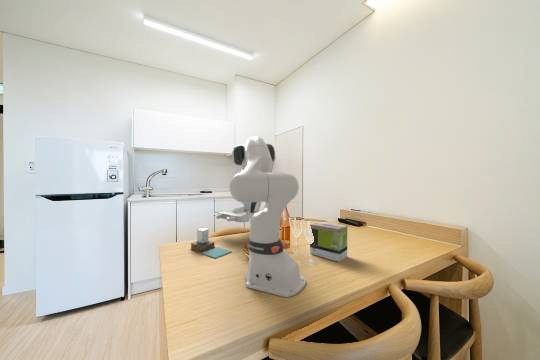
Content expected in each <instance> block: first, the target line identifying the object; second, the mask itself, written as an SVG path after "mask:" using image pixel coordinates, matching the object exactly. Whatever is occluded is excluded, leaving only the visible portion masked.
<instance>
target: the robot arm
mask: <svg viewBox="0 0 540 360" xmlns="http://www.w3.org/2000/svg"><path fill="white" fill-rule="evenodd" d="M275 157H276V151H275V148H274V146H273V145H272V144H271V143H266V142H265V141H264V139H263V138H261V137H260V136H252V137H249V138H248V139H247V140H246V143H244V144H242V143H241V144H236V145H234V146H233V148H232V150H231V158H232V161H233V164H235V165H237V166H242V167H241V170H240V171H239V172H238V173H236V174H235V175H233V177H232V178H231V180H230V182H229V192H230V196H231V197H232V198H233V199H234V200H235V201H237V202H239V203H241V204H242V205H243V206H241V207H235V208H234V209H233V211H230V210H223V211H218V212H217V215H215V219H219V220H220V219H221V220H226V221H227V222H236V223H248V222H249V237H248V238H249V239H248V250H249V254H248V256H249V257H248V263H247V268H246V272H245V275H244V278H245V280H246V284H245V286H246V287H247V288H250V289H253V290H257V291H259V292H260V291H261V292H264V293H269V294H272V295H275V296H280V297H283V298H289V297H292V296H296V294H298V293H301V291H302V290H303V289H304V288H305V286H306V284H307V279H306V276H303V275H301V273H300V268H299V265H298V262H296V261H295V259H293V258H292V257H291V256H290V255H289V254H288V253H287V252H286V250H285V249H284V247H286V244H287V243H286V242H282V240H281V238H280V231H281V230H280V229H281V220H282V215H283V213H284V210H285V208H287V205H289V203H290V202H292V200H294V199H295V198H296V197H297V195H298V194H299V193H298V192H299V190H300V188H299V187H300V185H299V181H298V179H297V178H296V177H295V175H294V174H289V173H286V172H271V171H272V169H273V167H274V161H275V159H276V158H275ZM261 203H265V205H264V207H262V208H261ZM260 208H261V210H260Z"/></svg>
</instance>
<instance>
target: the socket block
mask: <svg viewBox="0 0 540 360" xmlns="http://www.w3.org/2000/svg"><path fill="white" fill-rule="evenodd" d="M214 248H215V241H212V240H209V239H208V243H206V244H203V245H200V244H197V241H193V242H191V243H190V249H191V250H193V251H196V252H199V253H203V252H205V251H208V250H211V249H214Z"/></svg>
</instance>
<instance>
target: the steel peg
mask: <svg viewBox="0 0 540 360" xmlns="http://www.w3.org/2000/svg"><path fill="white" fill-rule="evenodd" d="M209 230H210V229H209V228H206V227H202V228H198V229H196V242H197V244H200V245H203V244H206V243H208V240H209Z"/></svg>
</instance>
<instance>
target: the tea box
mask: <svg viewBox="0 0 540 360" xmlns="http://www.w3.org/2000/svg"><path fill="white" fill-rule="evenodd" d="M310 226H311V229H312V233H313V236H314V242H313V243H312V244H310V243H309V254H310V255H313V256H317V257H321V258H323V259H324V258H325V259H327V260H330V261H335V262H338V263H339V262H341V261H343V260H344V259H346V258H347V257H348V225H344V224H338V223H337V224H336V223H330V222H323V221H317V222H314V223H311V224H309V227H310Z"/></svg>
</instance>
